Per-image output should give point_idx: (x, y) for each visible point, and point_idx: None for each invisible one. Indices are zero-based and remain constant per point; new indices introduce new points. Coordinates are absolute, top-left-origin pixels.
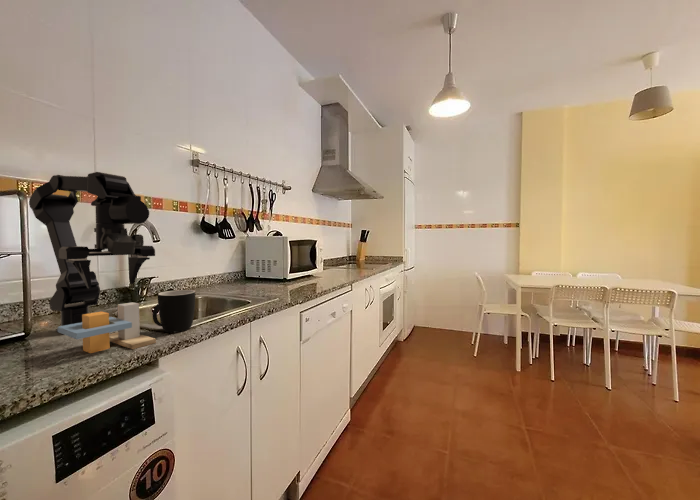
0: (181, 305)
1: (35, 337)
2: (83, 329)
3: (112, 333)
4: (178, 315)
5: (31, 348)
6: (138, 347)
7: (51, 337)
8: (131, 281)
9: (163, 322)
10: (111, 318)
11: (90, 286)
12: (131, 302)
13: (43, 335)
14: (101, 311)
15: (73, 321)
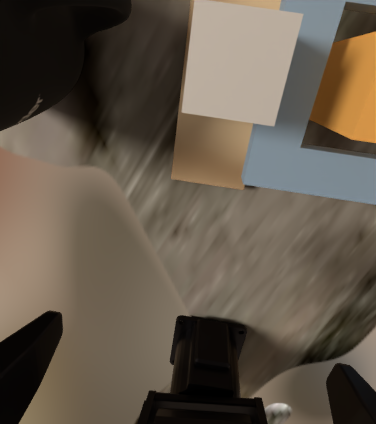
0: None
1: (285, 358)
2: None
3: (217, 184)
4: None
5: (361, 281)
6: None
7: (274, 329)
8: (51, 332)
9: (78, 33)
10: (265, 150)
11: (349, 372)
12: (188, 111)
13: (267, 358)
14: (353, 137)
15: (228, 350)
